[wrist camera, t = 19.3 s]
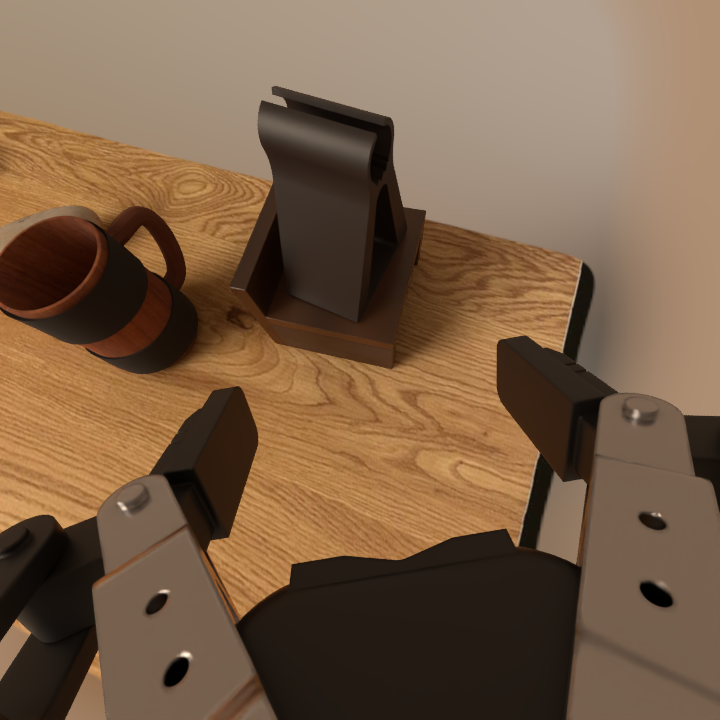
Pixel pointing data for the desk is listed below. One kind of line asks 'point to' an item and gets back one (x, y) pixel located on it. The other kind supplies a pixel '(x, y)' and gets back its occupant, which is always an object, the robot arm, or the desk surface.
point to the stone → (9, 231)
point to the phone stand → (332, 198)
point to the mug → (100, 289)
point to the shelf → (314, 324)
